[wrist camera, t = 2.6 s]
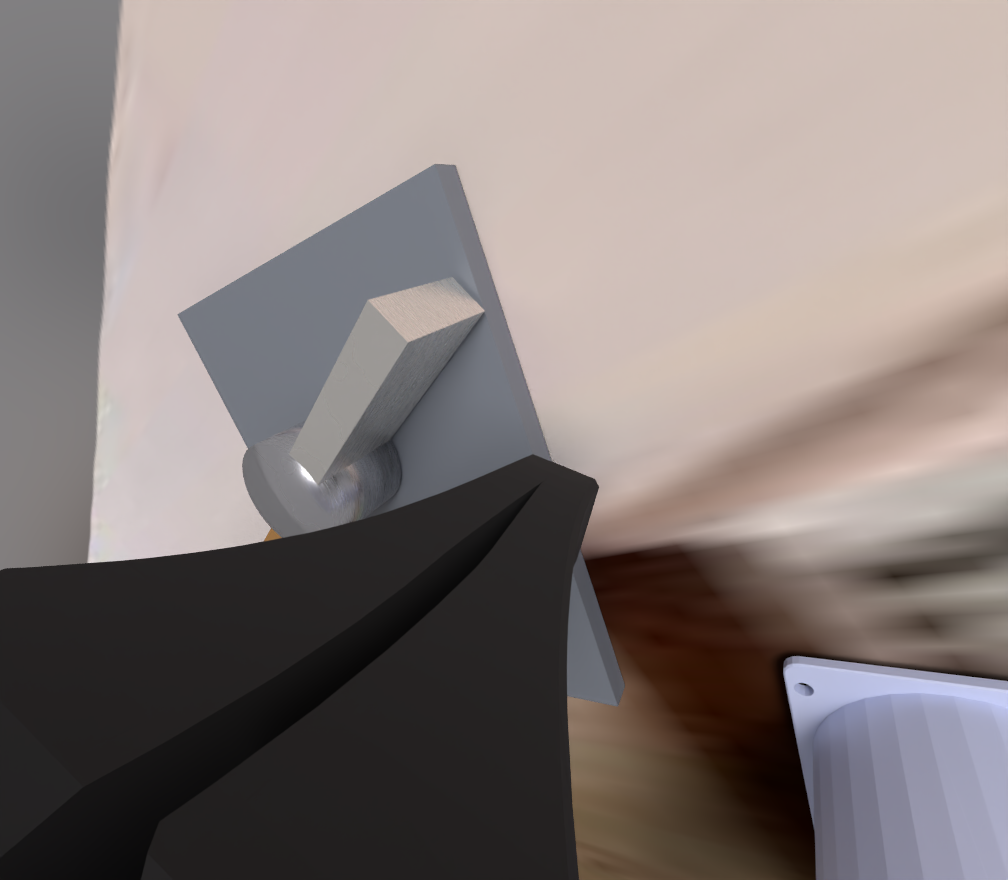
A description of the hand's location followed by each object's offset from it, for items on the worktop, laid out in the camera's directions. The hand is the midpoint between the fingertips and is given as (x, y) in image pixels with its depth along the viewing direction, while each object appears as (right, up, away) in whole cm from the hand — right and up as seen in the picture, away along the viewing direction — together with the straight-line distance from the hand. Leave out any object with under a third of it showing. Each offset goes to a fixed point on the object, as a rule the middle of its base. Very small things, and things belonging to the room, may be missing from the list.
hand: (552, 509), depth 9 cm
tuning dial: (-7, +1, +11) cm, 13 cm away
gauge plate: (-6, -1, +12) cm, 14 cm away
